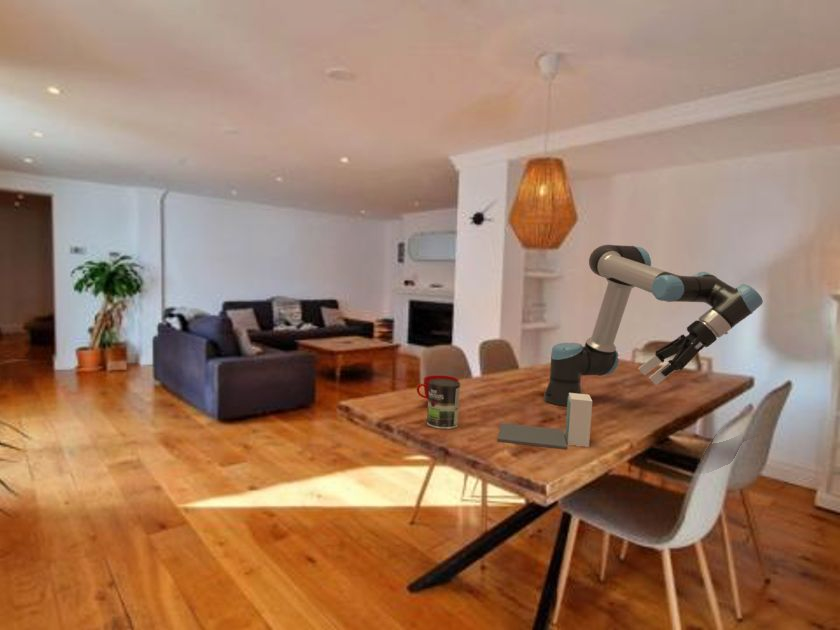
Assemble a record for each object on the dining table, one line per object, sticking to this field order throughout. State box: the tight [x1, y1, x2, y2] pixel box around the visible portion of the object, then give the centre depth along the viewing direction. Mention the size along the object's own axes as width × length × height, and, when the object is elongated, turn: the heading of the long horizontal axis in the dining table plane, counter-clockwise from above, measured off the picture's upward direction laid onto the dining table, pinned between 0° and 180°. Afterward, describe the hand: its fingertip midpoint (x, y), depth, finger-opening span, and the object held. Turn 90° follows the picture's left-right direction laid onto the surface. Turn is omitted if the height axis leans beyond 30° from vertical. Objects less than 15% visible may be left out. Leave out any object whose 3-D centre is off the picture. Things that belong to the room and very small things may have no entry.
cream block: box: [564, 393, 593, 448], centre depth 147 cm, size 6×8×14 cm
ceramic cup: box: [416, 375, 460, 400], centre depth 180 cm, size 13×17×10 cm
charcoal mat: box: [497, 422, 568, 450], centre depth 151 cm, size 20×16×1 cm
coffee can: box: [426, 379, 461, 430], centre depth 159 cm, size 10×10×14 cm
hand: (646, 376), depth 142 cm, fingers open, 13 cm apart
